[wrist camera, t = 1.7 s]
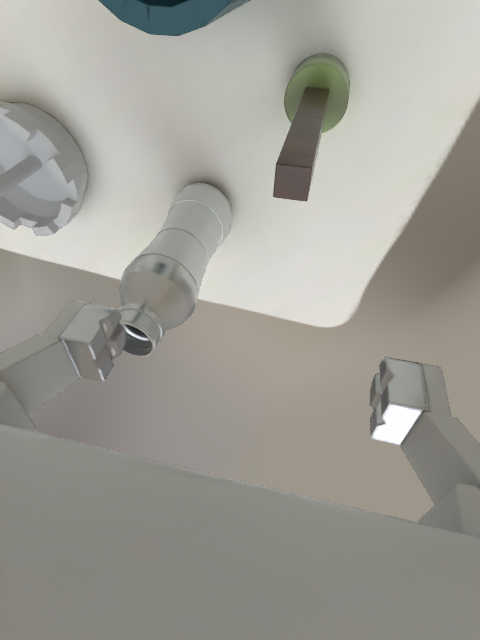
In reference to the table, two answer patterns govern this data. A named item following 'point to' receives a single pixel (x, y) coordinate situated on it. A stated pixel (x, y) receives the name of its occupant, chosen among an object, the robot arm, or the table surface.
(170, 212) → the plastic bottle
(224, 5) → the jar
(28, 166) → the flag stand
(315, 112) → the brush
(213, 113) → the table surface
